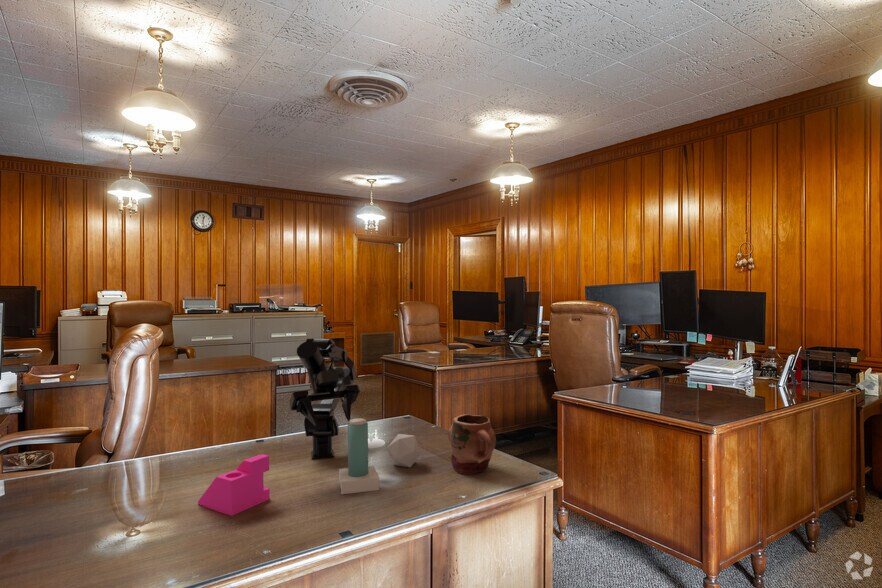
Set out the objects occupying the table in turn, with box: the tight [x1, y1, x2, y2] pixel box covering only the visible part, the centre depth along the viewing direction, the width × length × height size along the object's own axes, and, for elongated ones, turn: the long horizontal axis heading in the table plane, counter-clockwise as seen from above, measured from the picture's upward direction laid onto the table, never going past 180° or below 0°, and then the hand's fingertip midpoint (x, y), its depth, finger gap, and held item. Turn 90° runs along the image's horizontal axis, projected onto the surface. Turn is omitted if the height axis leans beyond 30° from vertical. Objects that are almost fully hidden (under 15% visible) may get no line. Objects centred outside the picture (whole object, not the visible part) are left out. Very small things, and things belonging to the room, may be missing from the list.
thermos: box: [347, 417, 369, 477], centre depth 126 cm, size 5×5×13 cm
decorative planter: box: [447, 413, 497, 475], centre depth 136 cm, size 20×12×14 cm, turn 29°
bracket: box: [197, 453, 271, 516], centre depth 117 cm, size 12×10×10 cm
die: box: [386, 433, 422, 468], centre depth 141 cm, size 8×9×10 cm
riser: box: [338, 465, 380, 495], centre depth 126 cm, size 9×9×3 cm
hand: (333, 422), depth 135 cm, fingers open, 9 cm apart
